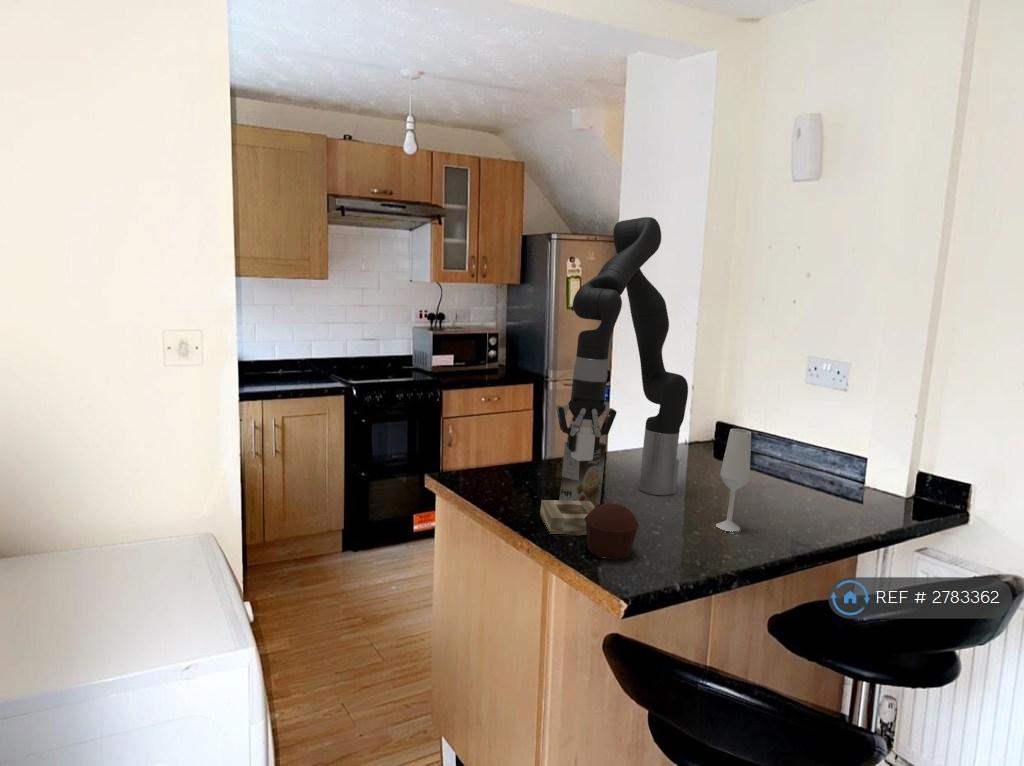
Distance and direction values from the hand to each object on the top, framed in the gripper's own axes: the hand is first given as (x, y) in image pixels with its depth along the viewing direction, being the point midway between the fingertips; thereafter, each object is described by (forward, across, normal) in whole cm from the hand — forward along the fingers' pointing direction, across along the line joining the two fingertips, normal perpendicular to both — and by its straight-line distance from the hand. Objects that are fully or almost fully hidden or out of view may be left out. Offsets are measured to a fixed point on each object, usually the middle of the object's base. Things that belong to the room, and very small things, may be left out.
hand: (582, 451), depth 159 cm
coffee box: (+18, -5, -15) cm, 24 cm away
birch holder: (+18, +1, 0) cm, 18 cm away
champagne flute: (+18, -38, 0) cm, 42 cm away
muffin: (+18, -4, +15) cm, 24 cm away
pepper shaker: (+2, 0, 0) cm, 2 cm away
